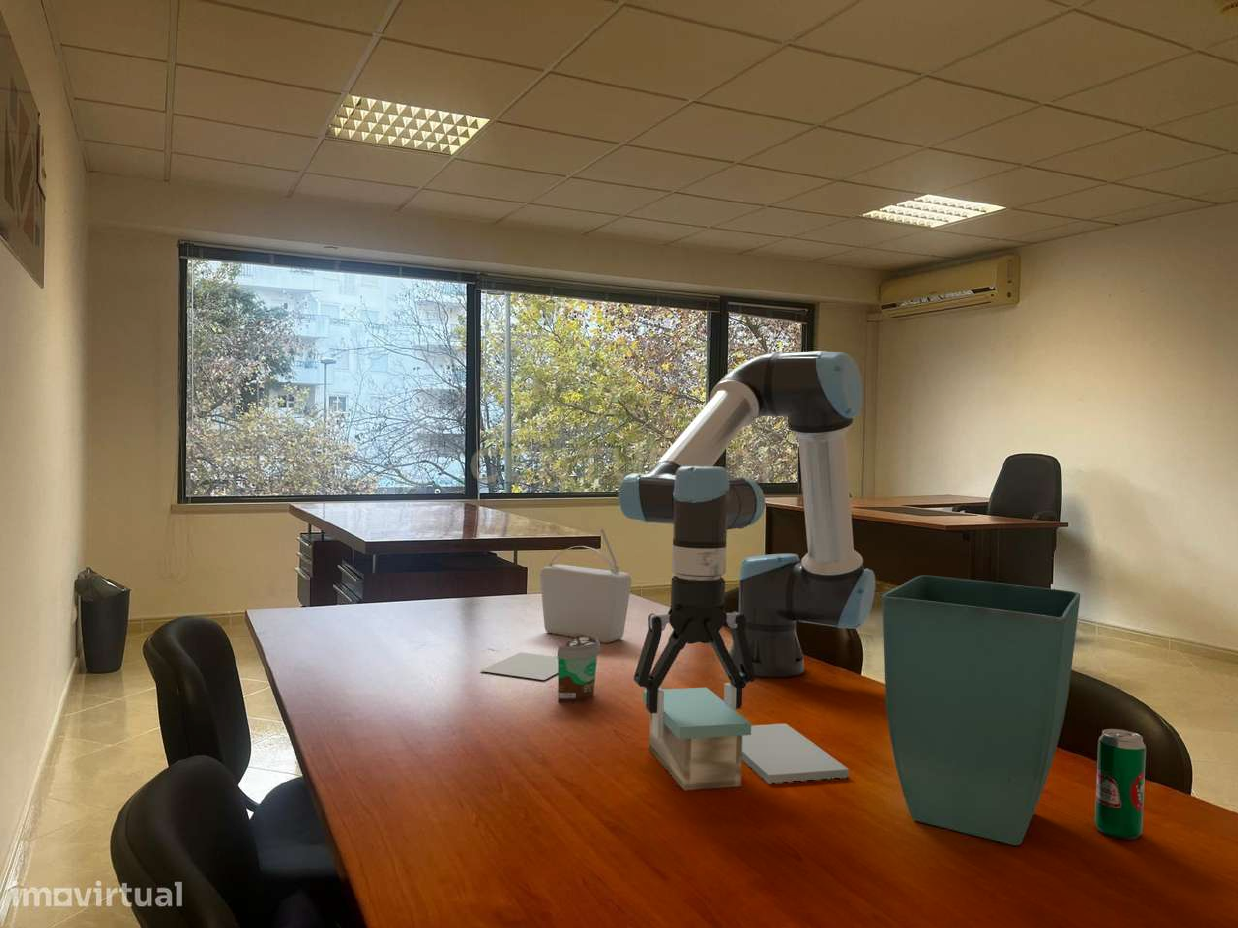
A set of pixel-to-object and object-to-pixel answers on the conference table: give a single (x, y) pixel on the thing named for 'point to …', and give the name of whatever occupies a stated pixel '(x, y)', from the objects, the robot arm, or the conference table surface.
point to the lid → (700, 714)
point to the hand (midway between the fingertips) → (693, 732)
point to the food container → (577, 668)
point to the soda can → (1120, 784)
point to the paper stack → (526, 666)
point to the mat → (787, 756)
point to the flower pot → (976, 698)
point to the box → (699, 759)
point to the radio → (585, 599)
